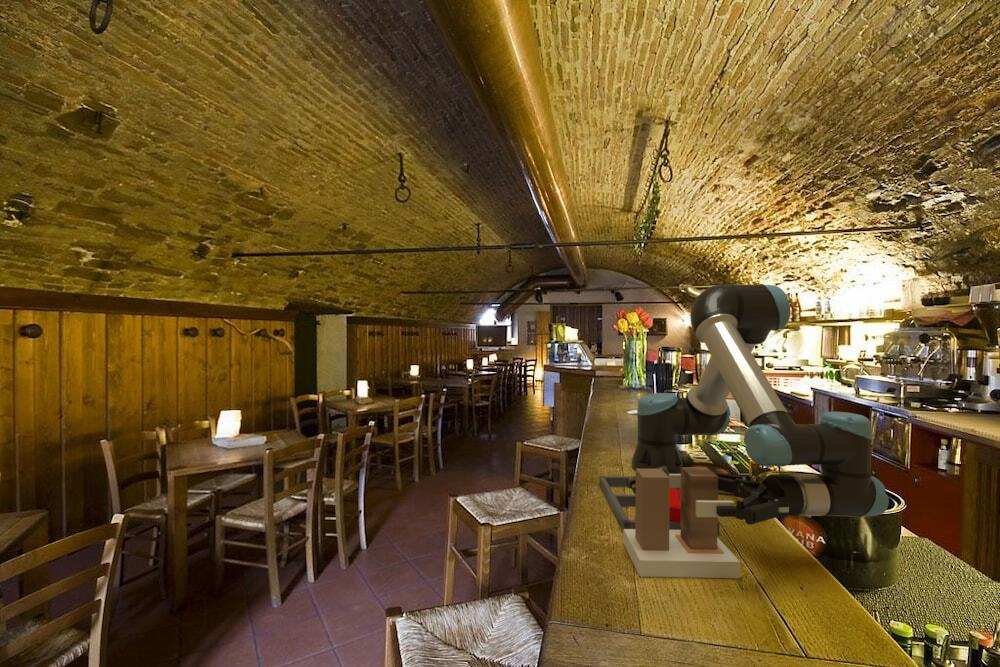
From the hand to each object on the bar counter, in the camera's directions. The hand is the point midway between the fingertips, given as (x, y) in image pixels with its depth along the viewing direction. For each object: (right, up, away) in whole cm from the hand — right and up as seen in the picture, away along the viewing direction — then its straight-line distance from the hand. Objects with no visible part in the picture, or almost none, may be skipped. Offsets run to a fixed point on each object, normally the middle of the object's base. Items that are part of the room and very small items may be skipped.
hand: (681, 493), depth 85 cm
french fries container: (+2, -13, +18) cm, 22 cm away
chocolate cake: (+5, -12, +33) cm, 36 cm away
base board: (-1, -13, 0) cm, 13 cm away
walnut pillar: (+3, -10, 0) cm, 10 cm away
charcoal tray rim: (+3, -12, +25) cm, 28 cm away
